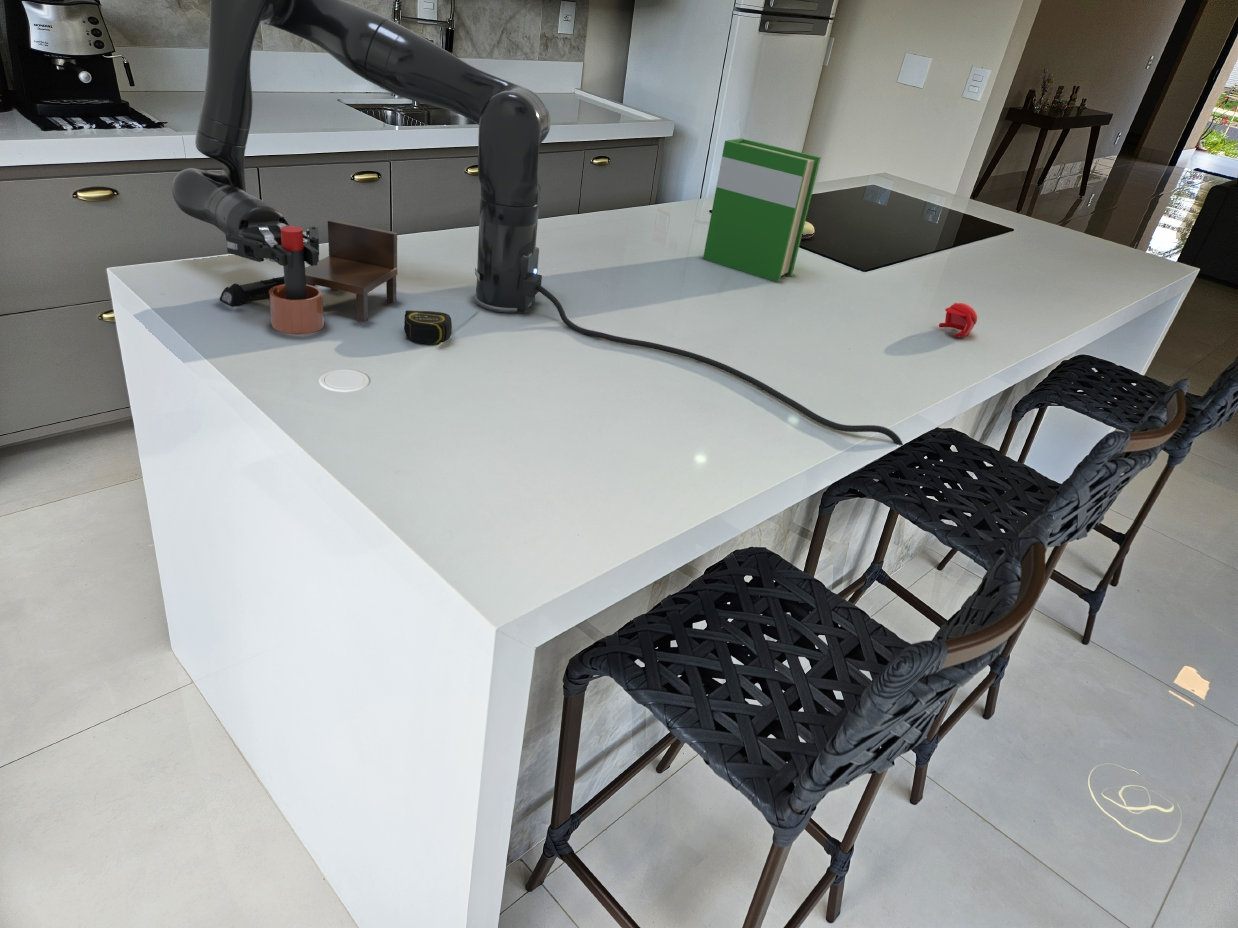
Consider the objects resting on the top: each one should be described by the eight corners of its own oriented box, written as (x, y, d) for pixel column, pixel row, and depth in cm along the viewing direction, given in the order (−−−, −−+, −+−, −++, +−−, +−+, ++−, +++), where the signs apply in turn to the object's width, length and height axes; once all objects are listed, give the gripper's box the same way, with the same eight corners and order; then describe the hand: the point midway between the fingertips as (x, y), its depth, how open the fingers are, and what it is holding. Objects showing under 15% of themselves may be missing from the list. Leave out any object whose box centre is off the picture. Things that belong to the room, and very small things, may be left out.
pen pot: (333, 325, 124) (331, 289, 121) (307, 341, 118) (304, 304, 115) (289, 315, 125) (287, 280, 122) (261, 331, 119) (258, 294, 116)
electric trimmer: (323, 293, 135) (322, 274, 133) (232, 311, 123) (230, 290, 122) (309, 286, 136) (308, 267, 135) (218, 303, 125) (216, 282, 124)
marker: (312, 322, 122) (306, 228, 115) (301, 329, 120) (295, 233, 113) (294, 319, 122) (287, 224, 115) (283, 325, 120) (276, 229, 113)
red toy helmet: (946, 324, 162) (956, 294, 159) (976, 334, 159) (987, 304, 156) (929, 332, 157) (940, 301, 154) (960, 343, 154) (971, 312, 151)
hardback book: (792, 275, 177) (820, 157, 165) (777, 282, 171) (806, 160, 159) (719, 252, 184) (741, 138, 172) (702, 258, 179) (724, 141, 167)
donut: (772, 236, 212) (773, 239, 203) (773, 217, 210) (774, 220, 201) (812, 236, 210) (815, 240, 202) (813, 217, 209) (816, 220, 200)
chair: (397, 303, 134) (397, 232, 129) (364, 326, 125) (362, 250, 119) (334, 290, 136) (331, 219, 130) (296, 311, 126) (291, 236, 121)
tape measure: (450, 332, 127) (451, 309, 126) (451, 350, 122) (452, 326, 120) (404, 330, 126) (404, 306, 124) (402, 348, 120) (402, 323, 118)
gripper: (198, 201, 118) (248, 237, 108) (296, 195, 127) (350, 228, 116) (205, 253, 122) (253, 293, 111) (299, 244, 131) (351, 280, 120)
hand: (302, 260), depth 114 cm, fingers closed on marker, 3 cm apart
